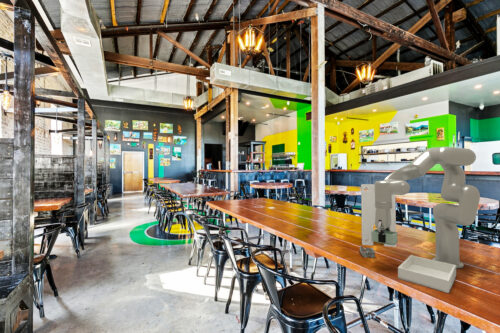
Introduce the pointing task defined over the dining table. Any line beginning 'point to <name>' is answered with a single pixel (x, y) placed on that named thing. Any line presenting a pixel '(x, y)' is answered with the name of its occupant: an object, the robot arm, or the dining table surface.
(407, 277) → the light grey tray
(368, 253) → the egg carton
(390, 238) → the small crate
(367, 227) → the notched grey plate
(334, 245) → the dining table surface
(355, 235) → the dining table surface
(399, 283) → the dining table surface
